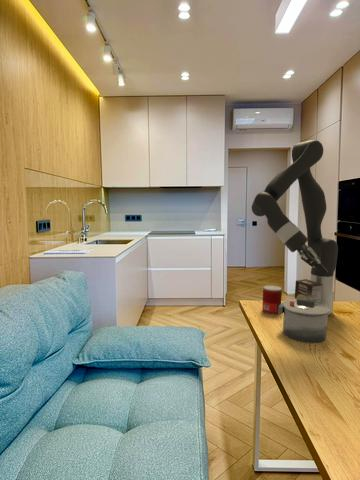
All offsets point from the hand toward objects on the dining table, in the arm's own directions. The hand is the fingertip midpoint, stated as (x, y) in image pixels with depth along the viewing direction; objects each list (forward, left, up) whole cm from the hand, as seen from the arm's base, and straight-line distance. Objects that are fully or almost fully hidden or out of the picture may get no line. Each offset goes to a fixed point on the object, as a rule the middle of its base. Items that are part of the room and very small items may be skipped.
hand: (325, 273), depth 115 cm
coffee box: (-9, -17, -24) cm, 31 cm away
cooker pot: (+3, -5, -24) cm, 25 cm away
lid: (+3, -5, -14) cm, 15 cm away
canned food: (-1, -30, -24) cm, 39 cm away
